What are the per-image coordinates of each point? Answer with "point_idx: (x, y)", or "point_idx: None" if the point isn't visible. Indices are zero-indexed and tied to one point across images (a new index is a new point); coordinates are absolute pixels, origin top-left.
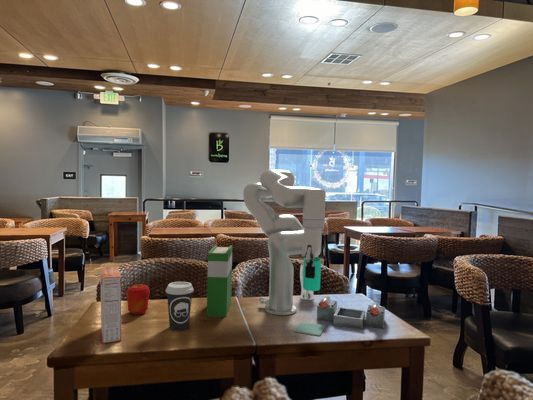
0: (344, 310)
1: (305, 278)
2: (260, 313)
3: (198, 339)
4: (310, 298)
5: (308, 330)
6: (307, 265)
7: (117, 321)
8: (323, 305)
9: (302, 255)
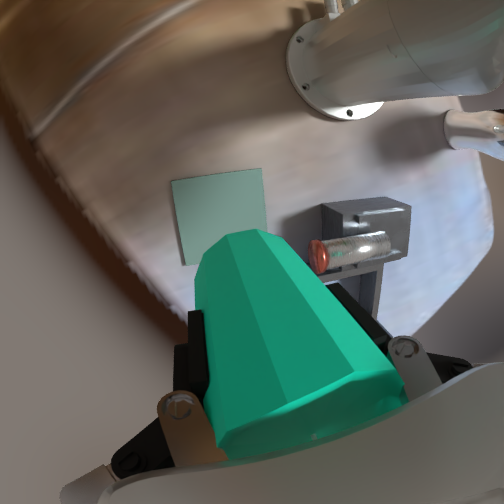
0: (372, 279)
1: (202, 298)
2: (275, 17)
3: (17, 15)
4: (450, 141)
5: (200, 221)
6: (158, 420)
7: None
8: (313, 258)
9: (99, 500)
